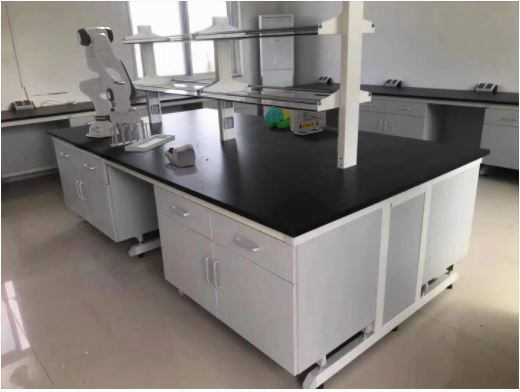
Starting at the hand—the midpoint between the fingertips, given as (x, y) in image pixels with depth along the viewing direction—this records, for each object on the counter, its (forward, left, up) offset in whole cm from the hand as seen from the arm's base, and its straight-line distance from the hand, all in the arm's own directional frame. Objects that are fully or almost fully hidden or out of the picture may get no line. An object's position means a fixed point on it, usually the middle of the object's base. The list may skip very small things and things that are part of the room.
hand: (127, 130), depth 267 cm
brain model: (+82, +59, -8) cm, 101 cm away
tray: (+17, -1, -8) cm, 19 cm away
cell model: (+59, -36, -8) cm, 70 cm away
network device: (+105, +45, -8) cm, 115 cm away
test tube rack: (+1, +1, -8) cm, 8 cm away
